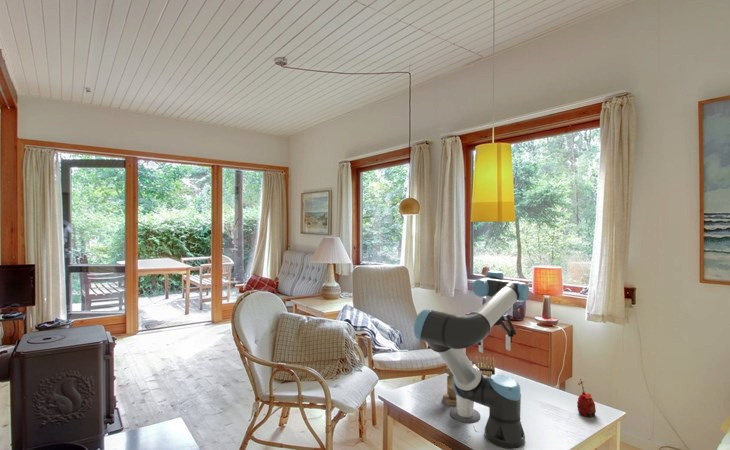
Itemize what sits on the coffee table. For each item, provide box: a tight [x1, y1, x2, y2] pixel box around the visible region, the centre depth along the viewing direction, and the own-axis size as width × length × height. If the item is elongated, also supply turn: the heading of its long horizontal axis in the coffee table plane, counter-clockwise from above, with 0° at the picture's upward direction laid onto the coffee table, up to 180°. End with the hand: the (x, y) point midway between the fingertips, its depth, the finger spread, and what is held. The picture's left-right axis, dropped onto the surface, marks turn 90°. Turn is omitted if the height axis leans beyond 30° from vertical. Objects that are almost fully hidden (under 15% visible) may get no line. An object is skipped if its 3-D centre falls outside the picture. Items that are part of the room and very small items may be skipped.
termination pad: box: [449, 406, 481, 424], centre depth 169 cm, size 13×13×1 cm
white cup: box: [456, 394, 475, 417], centre depth 169 cm, size 8×8×10 cm
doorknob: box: [442, 366, 457, 407], centre depth 181 cm, size 10×10×15 cm
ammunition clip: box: [474, 355, 496, 376], centre depth 209 cm, size 11×2×12 cm, turn 78°
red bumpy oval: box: [576, 378, 597, 418], centre depth 170 cm, size 8×7×15 cm
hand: (494, 350), depth 174 cm, fingers open, 13 cm apart
